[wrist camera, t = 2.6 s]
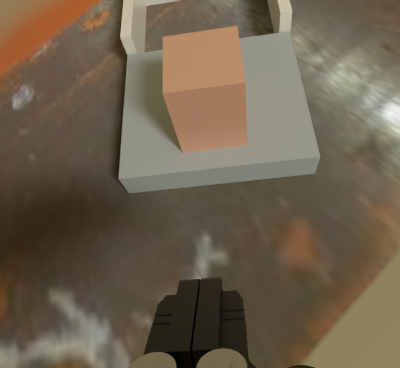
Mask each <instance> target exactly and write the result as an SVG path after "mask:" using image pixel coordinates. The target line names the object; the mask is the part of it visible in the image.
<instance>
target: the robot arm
mask: <svg viewBox="0 0 400 368" xmlns="http://www.w3.org/2000/svg"><path fill="white" fill-rule="evenodd" d="M130 368H256V367H255V366H254V365H253V364H252V363H251V362H250V360H249V358H248V345H247V333H246V324H245V315H244V306H243V299H242V297H241V296H240V295H239V293H238V292H237V291H236V290H235V291H223V288H222V280H221V277H218V278H205V279H201V281H200V279H193V280H180V282H179V286H178V290H177V295H166V297H165V298H164V299H163V300H162V301H161V302H160V303H159V304H158V307H157V310H156V314H155V317H154V321H153V326H152V327H151V331H150V334H149V338H148V341H147V344H146V348H145V351H144V355H143V356H141V357H140V358H138V359H137V360H136V361H134V363H133V364H132V365H131V366H130ZM289 368H314V367H311V366H306V365H297V366H292V367H289Z"/></svg>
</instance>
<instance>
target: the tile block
mask: <svg viewBox="0 0 400 368" xmlns="http://www.w3.org/2000/svg"><path fill="white" fill-rule="evenodd" d="M163 97H164V99H165V102H166V105H167V108H168V111H169V114H170V117H171V120H172V123H173V126H174V129H175V132H176V135H177V138H178V141H179V144H180V147H181V150H182V153H188V152H196V151H205V150H213V149H222V148H231V147H239V146H248V138H247V111H246V85H245V76H244V69H243V62H242V55H241V48H240V41H239V34H238V27H237V26H233V27H226V28H219V29H213V30H206V31H199V32H193V33H186V34H180V35H173V36H166V37H163Z"/></svg>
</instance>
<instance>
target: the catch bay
mask: <svg viewBox="0 0 400 368" xmlns="http://www.w3.org/2000/svg"><path fill="white" fill-rule="evenodd" d="M174 1H180V0H123V11H122V22H121V33H120V39H121V41H122V44H123V46H124V48H125V51H126V53H127V55H131V54H138V53H144V51H145V26H146V6H149V5H155V4H161V3H168V2H174ZM267 2H268V7H269V12H270V16H271V21H272V26H273V30H274V33H280V32H287V31H290V29H291V19H292V8H291V4H290V1H289V0H267Z"/></svg>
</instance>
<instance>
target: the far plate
mask: <svg viewBox="0 0 400 368" xmlns="http://www.w3.org/2000/svg"><path fill="white" fill-rule="evenodd" d="M239 41H240V48H241V55H242V62H243V69H244V76H245V85H246V111H247V138H248V146H239V147H231V148H222V149H213V150H205V151H196V152H188V153H182V150H181V147H180V144H179V141H178V138H177V135H176V132H175V129H174V126H173V123H172V120H171V117H170V114H169V111H168V108H167V105H166V102H165V99H164V97H163V50H158V51H152V52H145V53H138V54H131V55H127V69H126V83H125V97H124V110H123V124H122V138H121V151H120V165H119V180H120V182H121V183H122V185H123V186H124V187H125V189H126V190H127V191H128V193H137V192H147V191H156V190H165V189H175V188H184V187H194V186H203V185H212V184H222V183H231V182H241V181H250V180H260V179H269V178H278V177H288V176H297V175H307V174H315V172H316V169H317V165H318V162H319V159H320V154H319V150H318V146H317V142H316V138H315V133H314V129H313V125H312V121H311V117H310V113H309V109H308V105H307V101H306V97H305V93H304V88H303V84H302V80H301V76H300V72H299V68H298V64H297V60H296V56H295V52H294V47H293V43H292V39H291V35H290V31H287V32H280V33H274V34H267V35H260V36H253V37H246V38H240V39H239Z"/></svg>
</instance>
